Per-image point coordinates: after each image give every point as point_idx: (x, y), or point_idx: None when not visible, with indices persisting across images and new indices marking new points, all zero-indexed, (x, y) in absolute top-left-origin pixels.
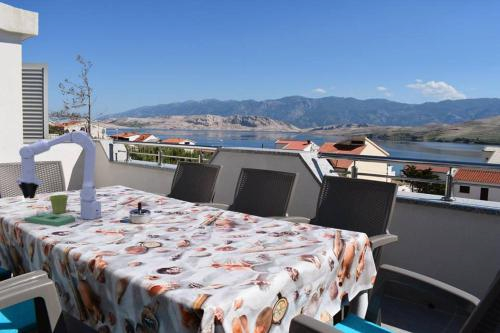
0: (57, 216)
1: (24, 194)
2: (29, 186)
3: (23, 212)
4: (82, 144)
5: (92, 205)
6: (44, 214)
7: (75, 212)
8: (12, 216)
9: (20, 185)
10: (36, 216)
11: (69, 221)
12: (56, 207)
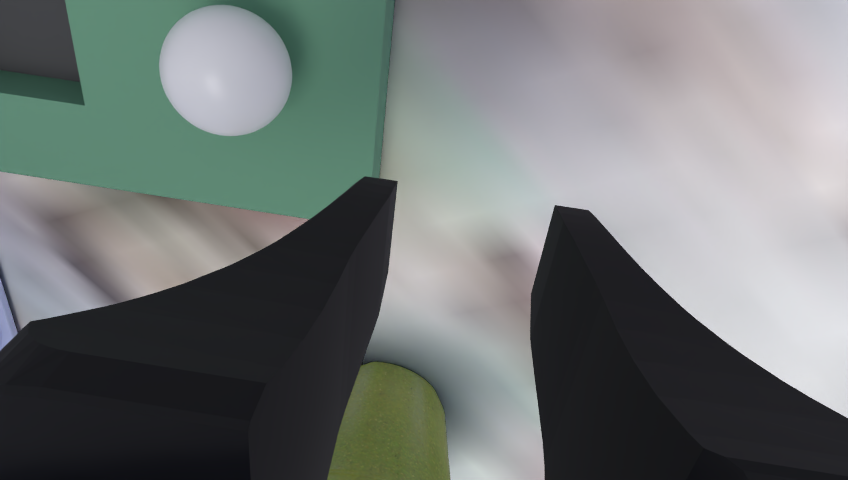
0: (28, 109)
1: (574, 248)
2: (56, 334)
3: (800, 332)
4: None
5: None
6: (289, 162)
7: None
8: (837, 117)
9: (786, 451)
10: (291, 16)
11: None
12: None
